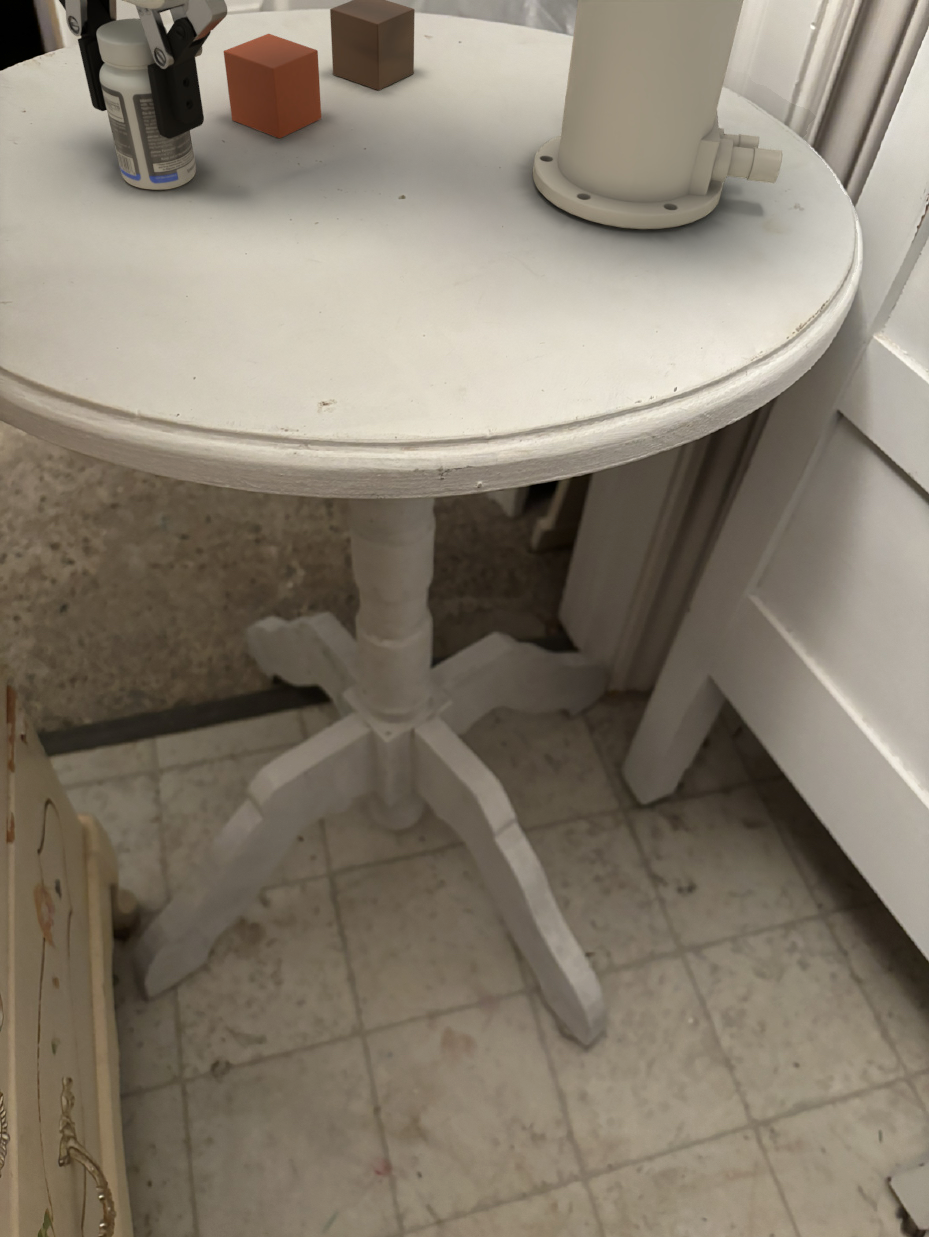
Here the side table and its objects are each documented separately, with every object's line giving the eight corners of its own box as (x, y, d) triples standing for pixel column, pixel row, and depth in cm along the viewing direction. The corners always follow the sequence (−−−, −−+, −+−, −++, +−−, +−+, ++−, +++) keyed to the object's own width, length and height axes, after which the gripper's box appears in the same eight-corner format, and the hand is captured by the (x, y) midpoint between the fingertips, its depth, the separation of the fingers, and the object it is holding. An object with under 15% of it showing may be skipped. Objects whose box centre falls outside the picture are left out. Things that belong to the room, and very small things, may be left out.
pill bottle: (204, 161, 63) (182, 19, 57) (187, 194, 60) (162, 48, 54) (132, 155, 63) (103, 12, 57) (111, 188, 60) (78, 41, 54)
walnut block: (368, 58, 76) (367, -6, 73) (414, 74, 75) (415, 8, 71) (332, 74, 74) (329, 9, 70) (378, 91, 72) (377, 24, 69)
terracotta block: (274, 101, 70) (268, 33, 67) (322, 119, 69) (318, 50, 65) (231, 120, 68) (222, 50, 64) (279, 139, 66) (273, 68, 63)
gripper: (264, -263, 45) (294, 138, 58) (20, -314, 50) (100, 63, 64) (142, -247, 40) (205, 181, 54) (-108, -305, 46) (7, 96, 60)
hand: (148, 114), depth 59 cm, fingers open, 5 cm apart
